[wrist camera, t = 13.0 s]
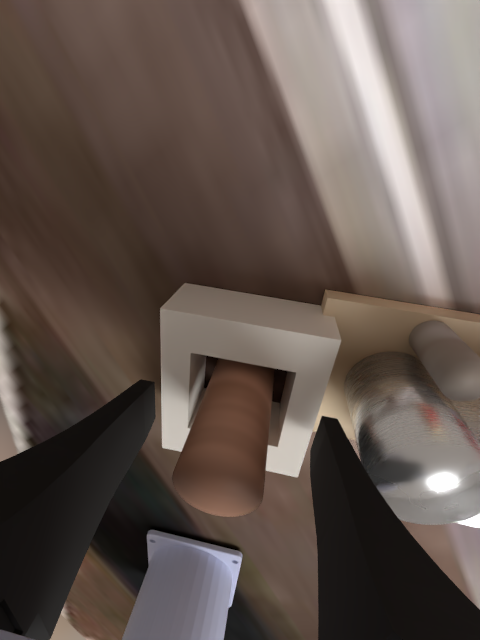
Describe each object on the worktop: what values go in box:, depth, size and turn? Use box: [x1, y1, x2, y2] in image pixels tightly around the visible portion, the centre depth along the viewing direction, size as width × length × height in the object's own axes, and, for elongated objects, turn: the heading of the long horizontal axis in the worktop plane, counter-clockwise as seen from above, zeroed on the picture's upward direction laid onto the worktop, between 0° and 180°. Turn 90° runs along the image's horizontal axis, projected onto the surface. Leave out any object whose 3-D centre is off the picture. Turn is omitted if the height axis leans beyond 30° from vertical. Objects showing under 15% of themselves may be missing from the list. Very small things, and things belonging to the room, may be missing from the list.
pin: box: [172, 358, 275, 517], centre depth 13 cm, size 3×3×7 cm
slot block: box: [160, 283, 341, 477], centre depth 14 cm, size 8×7×3 cm
